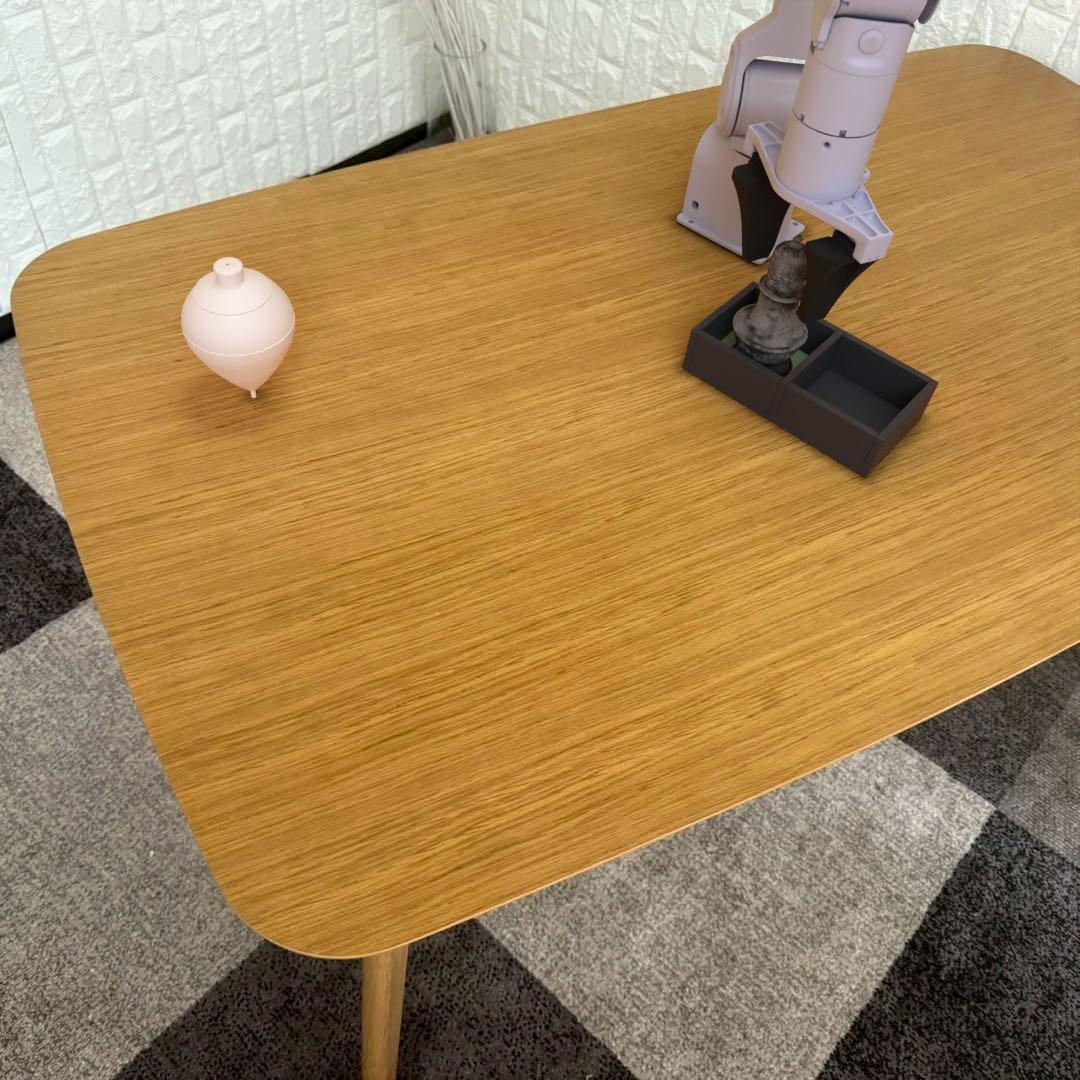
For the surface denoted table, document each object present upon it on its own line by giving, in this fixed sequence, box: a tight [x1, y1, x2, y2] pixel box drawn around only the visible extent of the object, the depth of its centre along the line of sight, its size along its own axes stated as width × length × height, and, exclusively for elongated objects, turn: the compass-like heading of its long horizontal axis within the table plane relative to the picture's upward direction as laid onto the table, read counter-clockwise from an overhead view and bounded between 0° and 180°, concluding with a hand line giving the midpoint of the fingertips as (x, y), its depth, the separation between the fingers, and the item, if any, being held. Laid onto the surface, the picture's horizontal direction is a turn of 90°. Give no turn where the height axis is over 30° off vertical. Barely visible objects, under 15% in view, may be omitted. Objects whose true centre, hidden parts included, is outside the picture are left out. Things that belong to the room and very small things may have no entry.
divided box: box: [682, 280, 940, 479], centre depth 79 cm, size 17×9×4 cm, turn 49°
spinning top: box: [180, 256, 296, 399], centre depth 72 cm, size 8×8×12 cm
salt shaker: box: [731, 234, 808, 378], centre depth 77 cm, size 6×6×12 cm
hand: (782, 287), depth 76 cm, fingers open, 7 cm apart
